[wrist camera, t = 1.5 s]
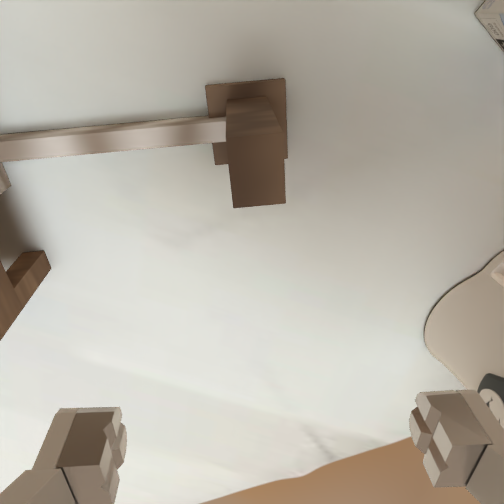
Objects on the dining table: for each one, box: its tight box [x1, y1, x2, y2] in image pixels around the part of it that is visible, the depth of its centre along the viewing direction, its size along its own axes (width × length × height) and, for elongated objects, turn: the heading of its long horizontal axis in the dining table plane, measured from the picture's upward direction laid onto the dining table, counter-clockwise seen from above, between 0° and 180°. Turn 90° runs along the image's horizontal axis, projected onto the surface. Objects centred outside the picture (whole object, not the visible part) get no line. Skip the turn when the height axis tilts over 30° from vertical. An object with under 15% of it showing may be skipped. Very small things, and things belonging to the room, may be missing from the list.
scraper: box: [0, 78, 288, 208], centre depth 27 cm, size 24×7×12 cm, turn 94°
